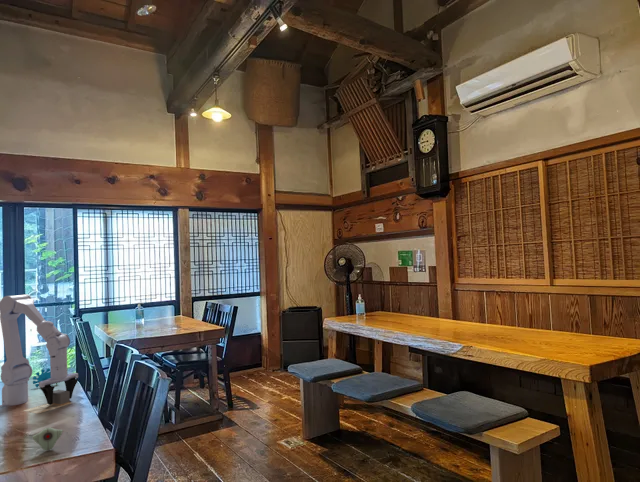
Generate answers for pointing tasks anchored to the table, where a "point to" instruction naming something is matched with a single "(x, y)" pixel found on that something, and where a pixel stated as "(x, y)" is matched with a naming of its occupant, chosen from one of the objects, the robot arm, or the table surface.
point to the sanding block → (61, 397)
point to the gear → (42, 376)
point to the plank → (44, 408)
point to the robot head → (47, 438)
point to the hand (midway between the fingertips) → (59, 401)
